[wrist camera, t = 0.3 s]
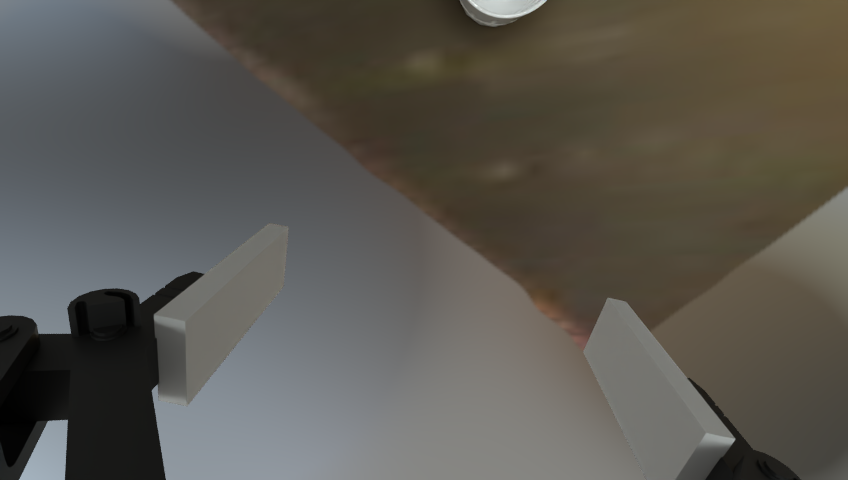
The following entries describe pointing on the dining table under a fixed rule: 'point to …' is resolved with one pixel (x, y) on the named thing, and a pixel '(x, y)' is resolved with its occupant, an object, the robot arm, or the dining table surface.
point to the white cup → (499, 10)
